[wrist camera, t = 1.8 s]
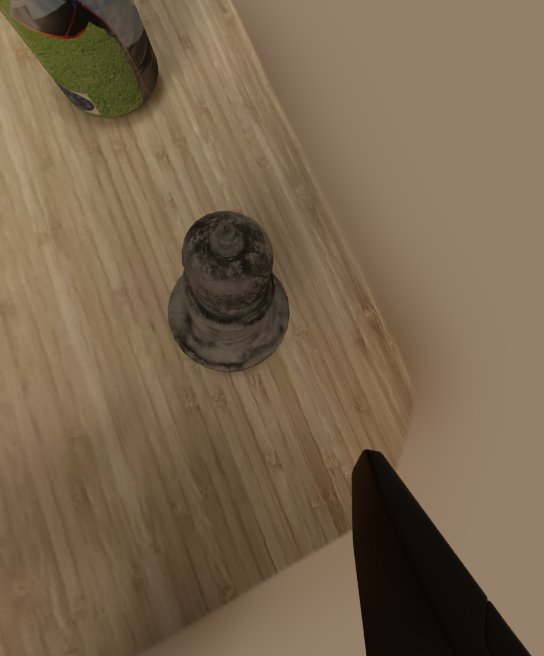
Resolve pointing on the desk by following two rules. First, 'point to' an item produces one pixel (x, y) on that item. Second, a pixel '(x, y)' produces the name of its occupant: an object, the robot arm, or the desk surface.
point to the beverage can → (89, 50)
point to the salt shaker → (228, 294)
